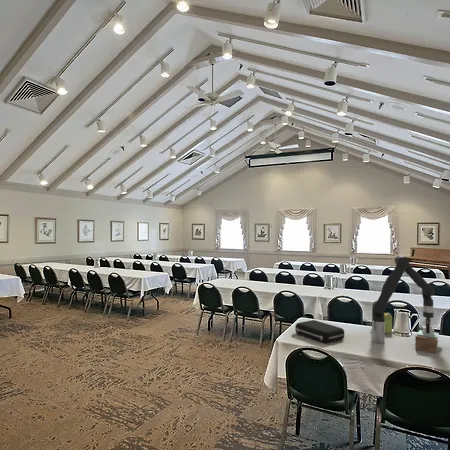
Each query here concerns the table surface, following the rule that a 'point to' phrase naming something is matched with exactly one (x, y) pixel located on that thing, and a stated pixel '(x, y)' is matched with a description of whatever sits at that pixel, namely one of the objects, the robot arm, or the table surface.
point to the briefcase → (319, 331)
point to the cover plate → (430, 334)
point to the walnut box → (426, 344)
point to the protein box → (387, 322)
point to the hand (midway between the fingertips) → (428, 332)
